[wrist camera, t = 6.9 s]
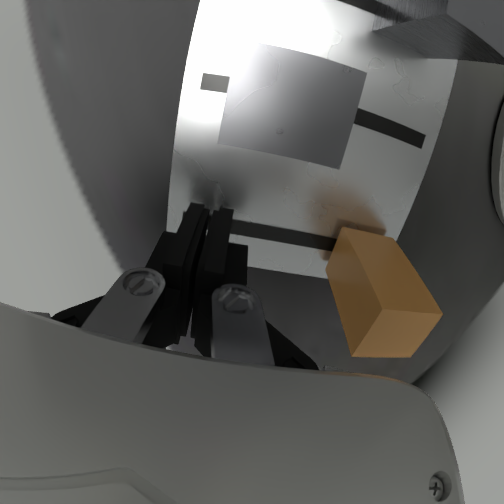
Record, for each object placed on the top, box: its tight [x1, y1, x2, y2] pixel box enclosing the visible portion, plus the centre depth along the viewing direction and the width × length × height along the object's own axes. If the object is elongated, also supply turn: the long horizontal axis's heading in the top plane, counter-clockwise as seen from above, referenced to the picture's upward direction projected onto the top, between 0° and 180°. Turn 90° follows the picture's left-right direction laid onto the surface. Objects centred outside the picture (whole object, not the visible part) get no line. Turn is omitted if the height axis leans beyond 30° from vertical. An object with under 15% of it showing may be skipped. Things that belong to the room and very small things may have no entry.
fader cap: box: [325, 227, 443, 357], centre depth 11 cm, size 3×2×5 cm
